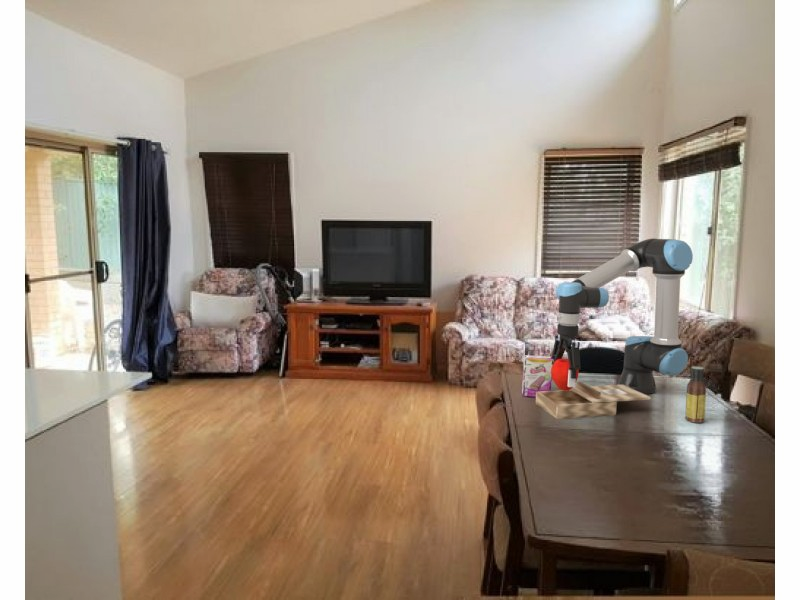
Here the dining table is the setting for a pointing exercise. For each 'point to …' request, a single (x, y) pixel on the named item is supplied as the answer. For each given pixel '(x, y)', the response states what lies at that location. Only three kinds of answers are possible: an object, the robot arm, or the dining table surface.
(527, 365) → the candy bar box
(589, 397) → the lid
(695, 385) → the sauce bottle
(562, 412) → the wooden box
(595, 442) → the dining table surface
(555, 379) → the apple
